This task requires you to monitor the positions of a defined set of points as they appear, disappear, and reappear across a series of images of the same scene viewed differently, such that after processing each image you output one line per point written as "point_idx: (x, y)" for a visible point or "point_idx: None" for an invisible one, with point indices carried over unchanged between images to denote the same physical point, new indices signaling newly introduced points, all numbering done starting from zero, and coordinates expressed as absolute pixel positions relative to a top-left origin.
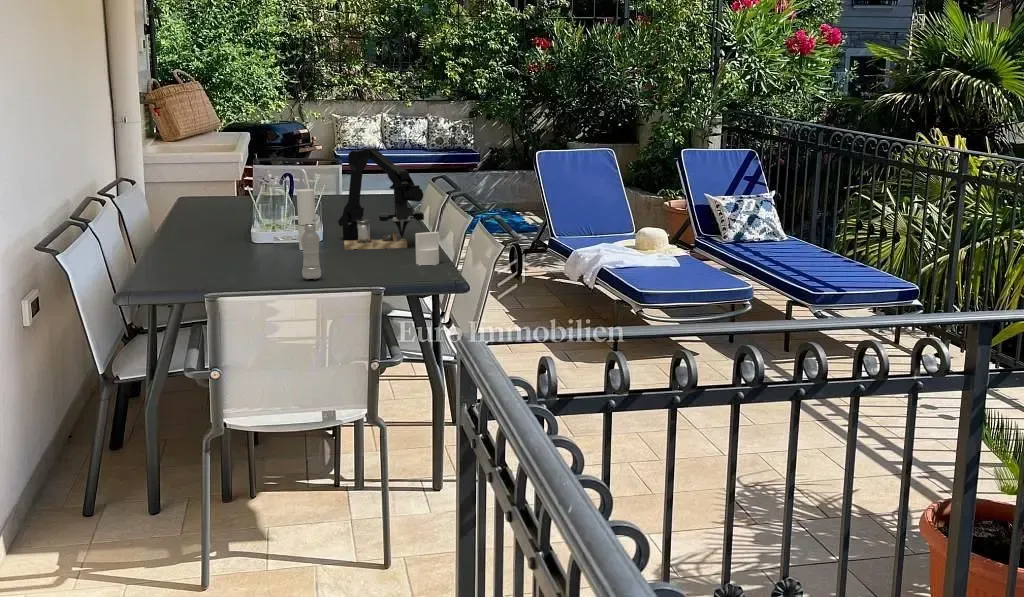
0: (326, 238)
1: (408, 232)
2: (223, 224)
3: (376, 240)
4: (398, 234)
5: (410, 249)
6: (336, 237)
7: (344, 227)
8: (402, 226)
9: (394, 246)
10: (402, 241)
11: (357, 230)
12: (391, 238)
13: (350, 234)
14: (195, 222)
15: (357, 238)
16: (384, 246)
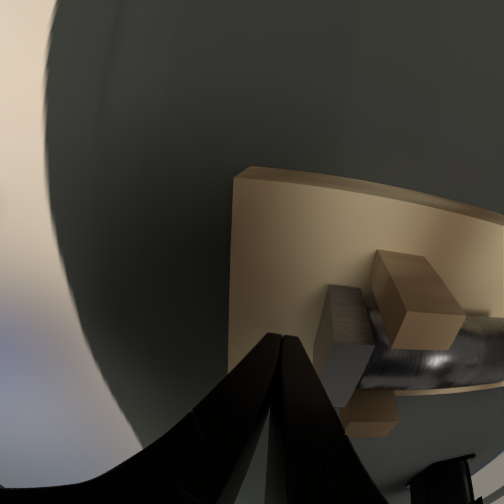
0: (482, 465)
1: None
2: (486, 499)
3: None
4: (332, 375)
5: (228, 61)
6: None
7: (470, 497)
8: (230, 493)
9: (403, 192)
10: (294, 240)
11: (427, 499)
12: None
13: (456, 477)
14: (495, 498)
15: (433, 467)
16: (493, 215)
